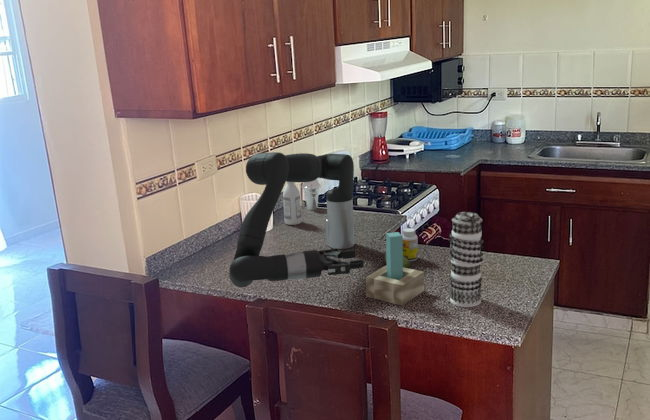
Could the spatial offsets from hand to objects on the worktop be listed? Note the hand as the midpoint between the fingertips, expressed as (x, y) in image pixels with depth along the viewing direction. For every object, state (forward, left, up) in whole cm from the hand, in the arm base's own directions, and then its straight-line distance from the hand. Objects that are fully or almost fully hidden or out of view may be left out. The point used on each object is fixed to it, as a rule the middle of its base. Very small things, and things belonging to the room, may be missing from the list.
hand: (359, 258), depth 172 cm
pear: (-4, +27, -12) cm, 30 cm away
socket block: (+7, +8, -12) cm, 16 cm away
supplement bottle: (-4, +35, -12) cm, 37 cm away
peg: (+7, +8, -10) cm, 14 cm away
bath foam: (-66, +48, -12) cm, 83 cm away
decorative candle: (+26, +14, -12) cm, 32 cm away
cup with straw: (-73, +69, -12) cm, 101 cm away
